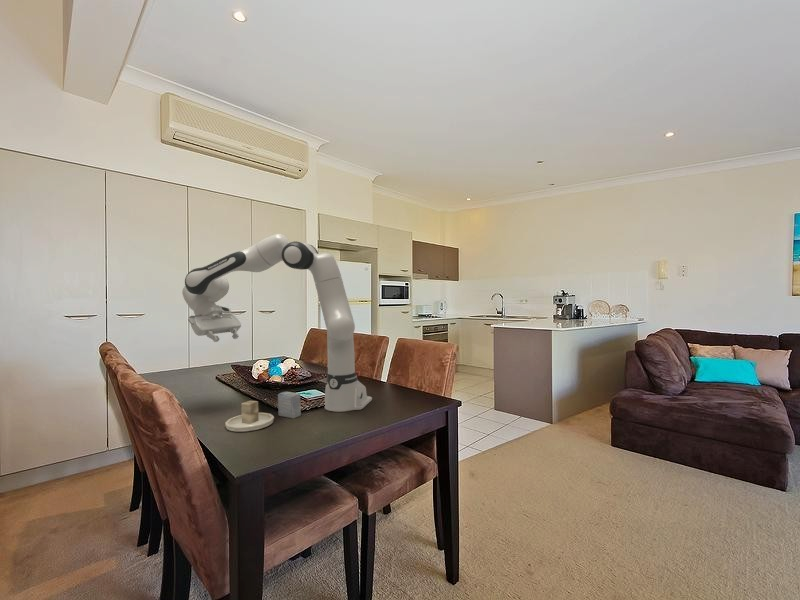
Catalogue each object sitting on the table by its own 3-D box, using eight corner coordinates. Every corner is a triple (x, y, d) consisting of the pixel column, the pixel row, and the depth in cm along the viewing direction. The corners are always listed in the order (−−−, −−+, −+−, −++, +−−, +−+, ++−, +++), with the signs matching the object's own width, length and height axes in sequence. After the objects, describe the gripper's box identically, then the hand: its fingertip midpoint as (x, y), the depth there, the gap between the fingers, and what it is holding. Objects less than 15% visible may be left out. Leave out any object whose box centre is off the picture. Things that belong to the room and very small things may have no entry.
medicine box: (301, 415, 148) (300, 393, 148) (292, 419, 144) (292, 396, 144) (286, 412, 152) (286, 391, 152) (277, 416, 148) (277, 393, 148)
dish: (250, 415, 150) (250, 410, 150) (282, 420, 143) (282, 415, 143) (215, 428, 135) (215, 424, 135) (249, 435, 129) (249, 430, 129)
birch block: (250, 419, 142) (249, 400, 142) (258, 420, 140) (258, 401, 140) (241, 422, 138) (241, 403, 138) (250, 424, 137) (249, 404, 136)
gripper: (189, 310, 147) (208, 336, 143) (232, 308, 166) (250, 331, 162) (182, 322, 149) (200, 348, 145) (225, 318, 168) (242, 341, 164)
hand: (227, 339), depth 154 cm, fingers open, 8 cm apart
